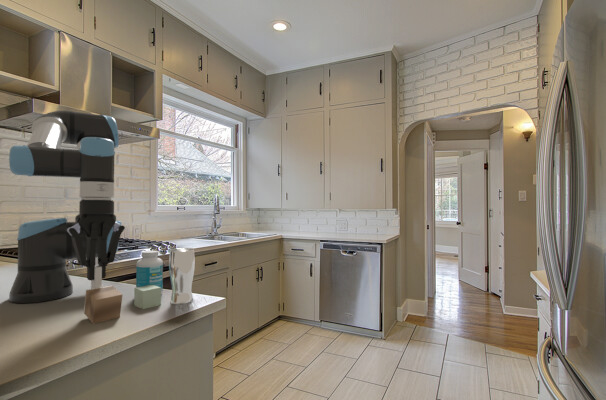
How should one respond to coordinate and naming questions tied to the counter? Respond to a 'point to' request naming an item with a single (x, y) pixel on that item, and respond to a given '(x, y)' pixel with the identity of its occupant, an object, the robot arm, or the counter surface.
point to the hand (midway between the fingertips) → (96, 292)
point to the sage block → (147, 296)
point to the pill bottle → (149, 270)
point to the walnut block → (102, 304)
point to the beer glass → (181, 274)
